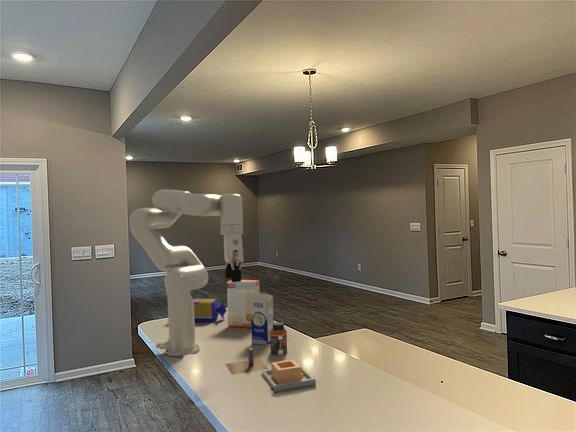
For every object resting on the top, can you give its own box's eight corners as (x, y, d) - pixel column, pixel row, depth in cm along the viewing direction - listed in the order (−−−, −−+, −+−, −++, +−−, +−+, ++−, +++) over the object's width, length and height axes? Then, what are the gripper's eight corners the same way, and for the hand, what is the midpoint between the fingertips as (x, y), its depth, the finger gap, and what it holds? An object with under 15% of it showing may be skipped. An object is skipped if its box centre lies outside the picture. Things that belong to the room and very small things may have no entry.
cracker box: (261, 325, 191) (259, 279, 191) (255, 328, 185) (254, 281, 185) (233, 323, 195) (232, 279, 195) (227, 326, 190) (226, 281, 190)
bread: (180, 318, 210) (179, 297, 210) (228, 318, 207) (227, 297, 207) (172, 323, 200) (171, 301, 200) (222, 323, 197) (221, 301, 197)
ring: (278, 386, 119) (278, 370, 119) (271, 377, 126) (271, 362, 126) (306, 381, 122) (306, 366, 122) (298, 373, 129) (297, 358, 129)
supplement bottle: (285, 358, 145) (284, 325, 145) (268, 357, 146) (268, 325, 146) (288, 352, 151) (287, 321, 151) (272, 352, 152) (272, 321, 152)
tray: (274, 393, 116) (274, 386, 116) (262, 377, 128) (261, 370, 128) (315, 385, 120) (315, 379, 120) (300, 371, 132) (299, 364, 132)
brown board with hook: (231, 377, 128) (231, 356, 128) (225, 366, 138) (225, 347, 138) (268, 371, 132) (268, 351, 132) (260, 361, 142) (259, 342, 142)
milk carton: (251, 344, 162) (249, 293, 162) (259, 339, 168) (257, 290, 169) (267, 345, 160) (266, 293, 160) (274, 340, 166) (273, 290, 166)
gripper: (248, 230, 135) (250, 282, 135) (237, 229, 152) (238, 275, 152) (225, 231, 133) (227, 284, 133) (216, 230, 149) (218, 277, 149)
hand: (233, 279), depth 142 cm, fingers open, 9 cm apart
